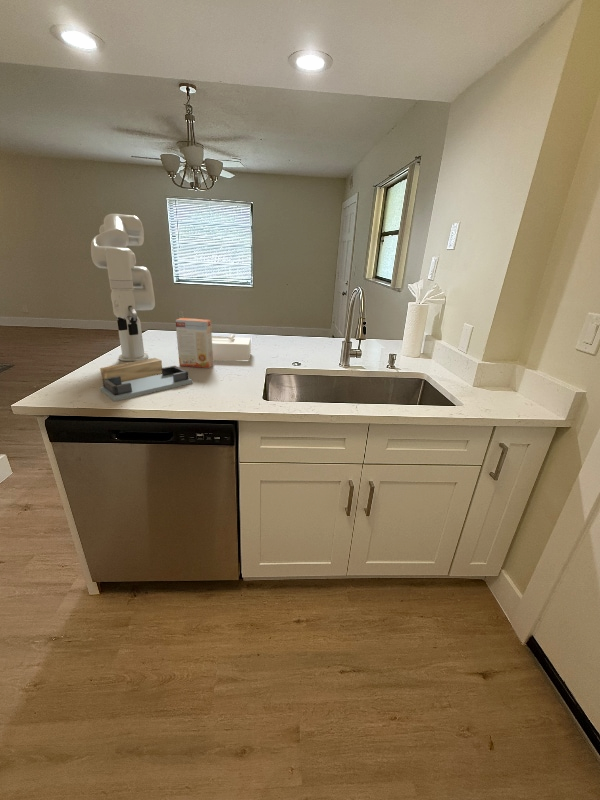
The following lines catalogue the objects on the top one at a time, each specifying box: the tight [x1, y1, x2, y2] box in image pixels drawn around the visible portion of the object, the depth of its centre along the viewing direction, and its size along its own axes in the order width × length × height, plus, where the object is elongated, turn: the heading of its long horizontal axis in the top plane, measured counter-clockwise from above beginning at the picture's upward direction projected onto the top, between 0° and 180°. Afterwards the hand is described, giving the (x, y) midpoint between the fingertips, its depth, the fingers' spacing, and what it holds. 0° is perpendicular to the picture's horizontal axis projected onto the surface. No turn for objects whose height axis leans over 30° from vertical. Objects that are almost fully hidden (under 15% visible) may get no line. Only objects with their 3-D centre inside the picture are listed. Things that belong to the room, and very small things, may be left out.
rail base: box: [99, 365, 193, 402], centre depth 127 cm, size 13×29×4 cm, turn 137°
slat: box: [99, 357, 163, 383], centre depth 135 cm, size 5×22×6 cm, turn 142°
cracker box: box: [175, 317, 214, 369], centre depth 151 cm, size 14×6×21 cm, turn 84°
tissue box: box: [212, 333, 252, 361], centre depth 169 cm, size 14×25×11 cm, turn 94°
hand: (128, 332), depth 129 cm, fingers open, 9 cm apart
